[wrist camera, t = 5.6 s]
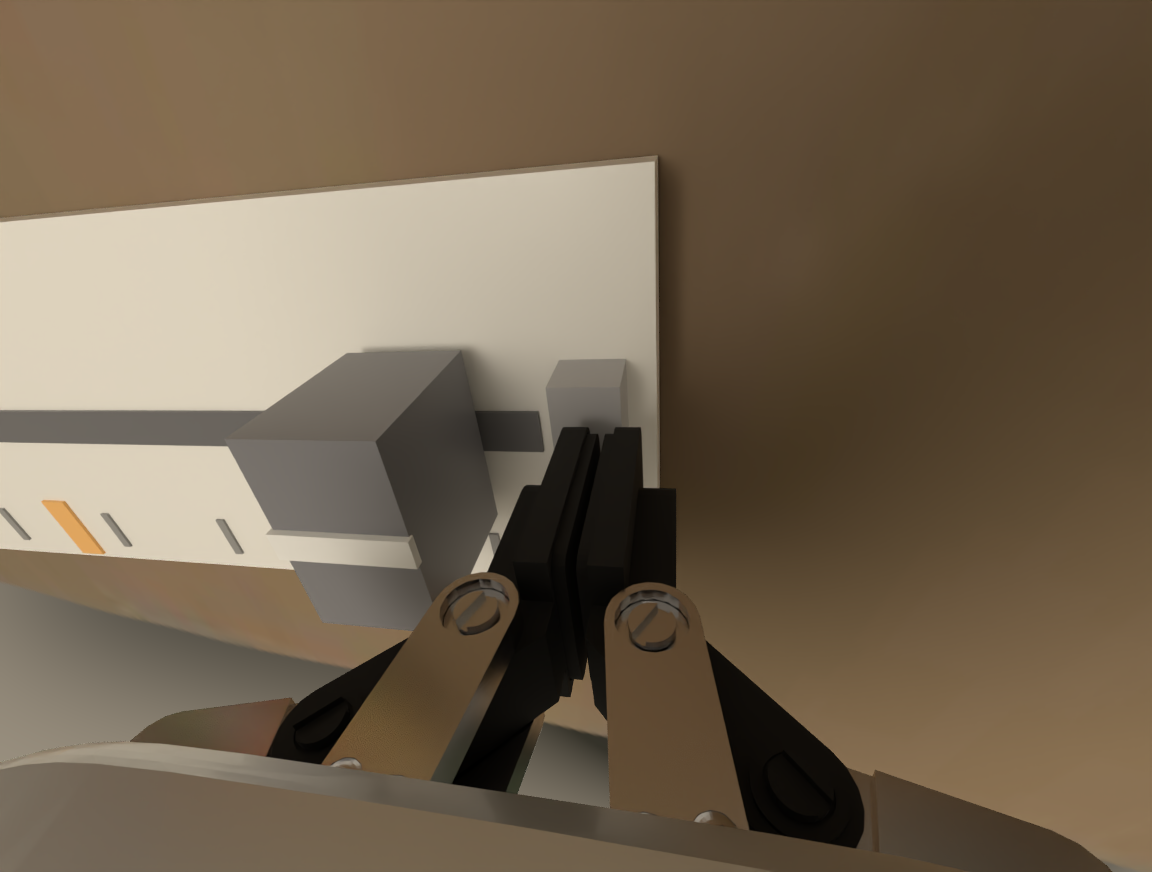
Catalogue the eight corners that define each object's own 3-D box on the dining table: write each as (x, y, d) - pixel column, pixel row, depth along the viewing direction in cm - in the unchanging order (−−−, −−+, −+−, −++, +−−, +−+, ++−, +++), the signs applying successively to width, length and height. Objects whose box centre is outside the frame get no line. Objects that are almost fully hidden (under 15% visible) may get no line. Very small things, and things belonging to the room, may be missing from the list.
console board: (658, 155, 11) (650, 167, 8) (660, 549, 17) (656, 637, 14) (-242, 240, 17) (-434, 266, 14) (2, 514, 23) (-96, 570, 20)
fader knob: (463, 350, 12) (372, 446, 8) (499, 514, 14) (442, 640, 11) (345, 352, 12) (215, 443, 9) (400, 509, 15) (317, 627, 11)
